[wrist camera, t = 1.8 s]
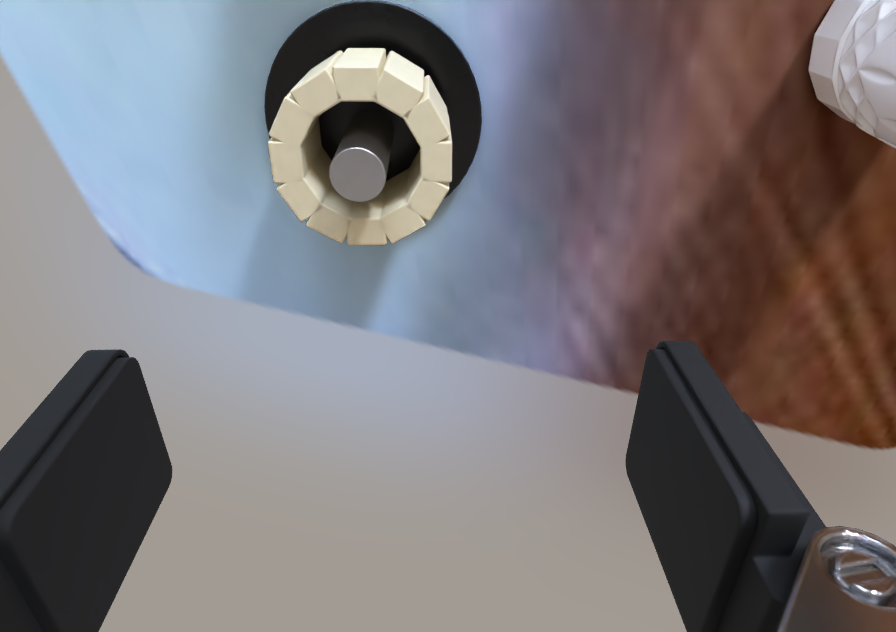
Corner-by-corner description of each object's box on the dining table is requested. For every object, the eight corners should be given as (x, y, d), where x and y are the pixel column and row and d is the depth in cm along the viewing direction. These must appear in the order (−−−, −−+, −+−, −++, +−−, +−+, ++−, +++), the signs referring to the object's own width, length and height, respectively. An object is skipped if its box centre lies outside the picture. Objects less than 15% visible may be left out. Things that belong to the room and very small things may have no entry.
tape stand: (251, -2, 26) (183, 18, 19) (485, 0, 26) (506, 19, 19) (282, 218, 31) (238, 299, 24) (477, 217, 31) (492, 297, 24)
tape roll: (282, 47, 25) (255, 65, 21) (449, 48, 25) (453, 66, 21) (301, 205, 28) (282, 246, 24) (448, 205, 28) (451, 245, 25)
